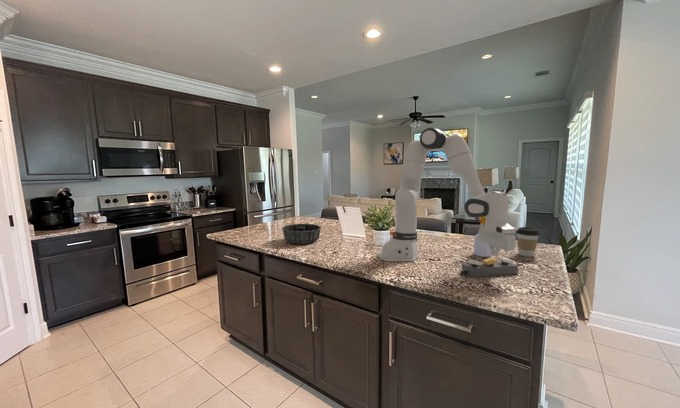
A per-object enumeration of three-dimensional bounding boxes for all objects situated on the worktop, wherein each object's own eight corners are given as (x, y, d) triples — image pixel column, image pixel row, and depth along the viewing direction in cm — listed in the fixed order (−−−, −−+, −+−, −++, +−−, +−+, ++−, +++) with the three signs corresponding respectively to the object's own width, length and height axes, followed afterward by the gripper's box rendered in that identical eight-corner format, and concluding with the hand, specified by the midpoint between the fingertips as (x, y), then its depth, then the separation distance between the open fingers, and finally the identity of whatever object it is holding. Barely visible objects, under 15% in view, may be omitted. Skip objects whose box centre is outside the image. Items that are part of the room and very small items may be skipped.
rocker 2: (487, 265, 131) (487, 262, 131) (482, 262, 134) (482, 260, 134) (497, 262, 132) (496, 259, 132) (492, 260, 135) (491, 257, 135)
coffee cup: (531, 252, 167) (533, 227, 165) (542, 258, 155) (545, 231, 154) (510, 251, 168) (512, 226, 166) (520, 257, 156) (522, 230, 155)
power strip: (465, 277, 127) (465, 268, 127) (456, 272, 134) (456, 263, 134) (517, 273, 132) (518, 264, 132) (506, 268, 139) (506, 259, 139)
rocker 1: (472, 264, 130) (473, 261, 129) (468, 261, 133) (468, 259, 133) (482, 265, 131) (482, 263, 130) (477, 263, 134) (478, 260, 134)
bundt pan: (328, 239, 199) (328, 225, 197) (305, 248, 176) (304, 232, 175) (299, 235, 212) (299, 222, 211) (274, 243, 190) (273, 228, 189)
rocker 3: (503, 261, 132) (504, 259, 132) (498, 259, 136) (498, 257, 135) (512, 263, 133) (513, 260, 133) (507, 261, 137) (507, 258, 137)
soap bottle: (473, 255, 160) (475, 212, 157) (474, 251, 168) (476, 210, 165) (491, 258, 156) (494, 213, 153) (491, 253, 164) (493, 211, 161)
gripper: (475, 222, 141) (473, 249, 143) (506, 230, 121) (504, 262, 123) (486, 221, 142) (485, 248, 144) (519, 230, 122) (517, 261, 124)
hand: (494, 255), depth 133 cm, fingers closed
